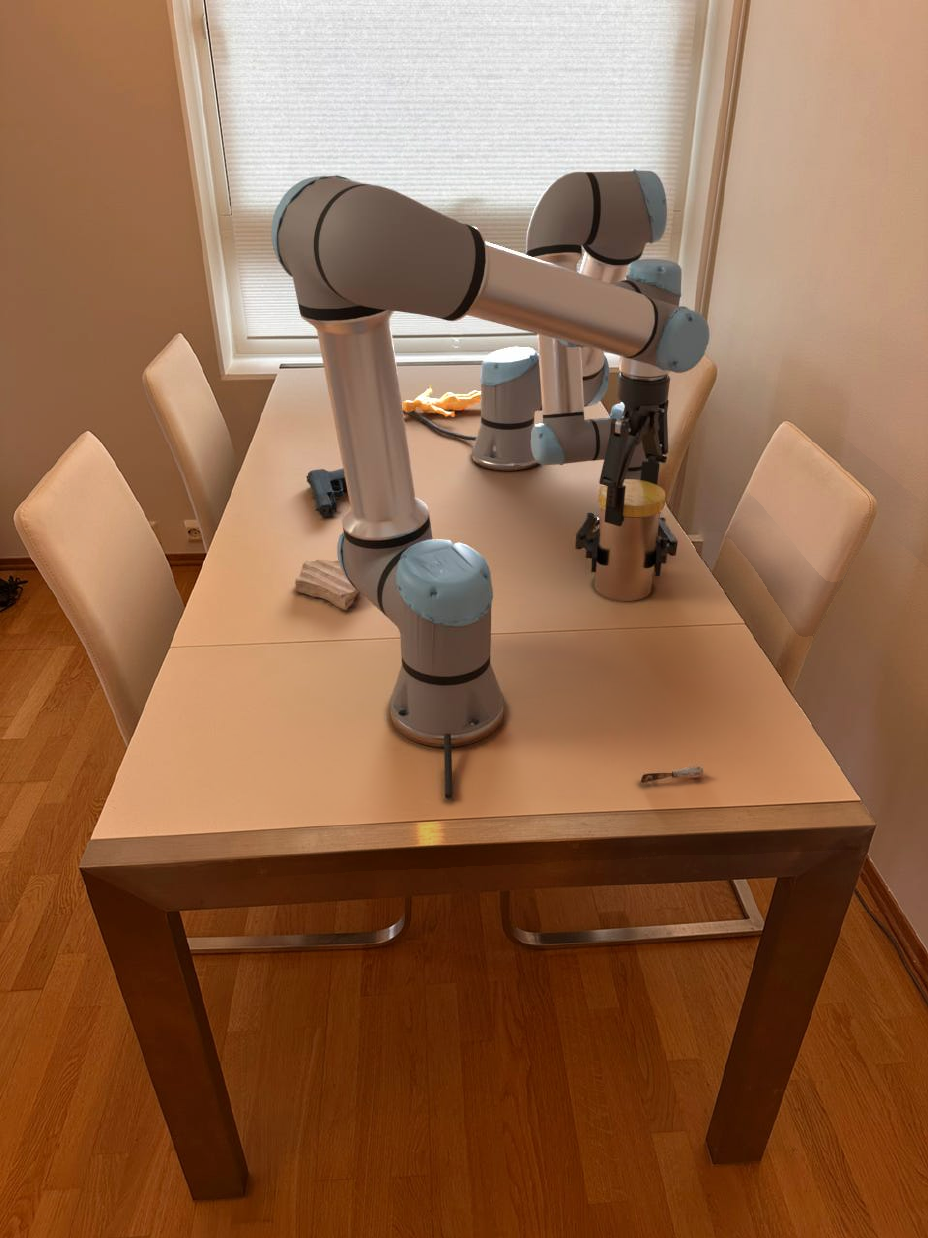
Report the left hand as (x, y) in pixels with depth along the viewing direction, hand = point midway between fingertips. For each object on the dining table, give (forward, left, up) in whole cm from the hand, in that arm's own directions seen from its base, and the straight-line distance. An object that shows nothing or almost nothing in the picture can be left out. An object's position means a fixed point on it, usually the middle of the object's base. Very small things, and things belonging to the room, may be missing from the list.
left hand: (630, 511), depth 142 cm
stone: (-11, +47, -14) cm, 50 cm away
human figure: (+81, +48, -14) cm, 96 cm away
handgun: (+25, +58, -14) cm, 65 cm away
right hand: (-4, 0, -8) cm, 9 cm away
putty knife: (-47, -9, -14) cm, 50 cm away
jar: (0, 0, -14) cm, 14 cm away
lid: (0, 0, +3) cm, 3 cm away
